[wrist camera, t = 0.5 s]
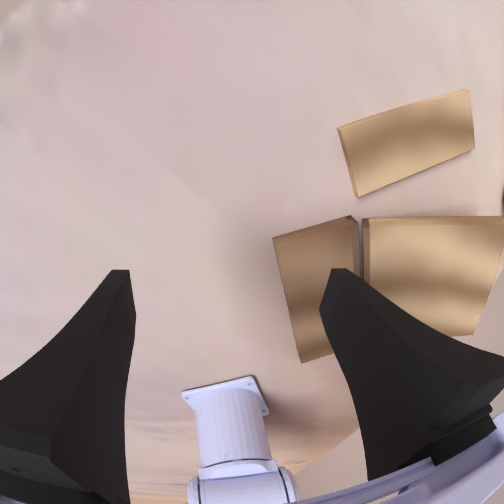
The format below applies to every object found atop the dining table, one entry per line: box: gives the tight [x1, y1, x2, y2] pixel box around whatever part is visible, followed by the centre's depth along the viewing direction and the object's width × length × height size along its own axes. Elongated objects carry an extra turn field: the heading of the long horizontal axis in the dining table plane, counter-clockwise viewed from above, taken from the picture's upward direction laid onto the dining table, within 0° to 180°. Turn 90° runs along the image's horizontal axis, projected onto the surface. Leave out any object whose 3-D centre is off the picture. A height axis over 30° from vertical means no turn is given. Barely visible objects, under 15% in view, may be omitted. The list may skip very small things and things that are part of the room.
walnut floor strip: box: [272, 215, 360, 364], centre depth 25 cm, size 14×6×1 cm, turn 13°
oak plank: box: [362, 216, 504, 337], centre depth 23 cm, size 13×12×1 cm
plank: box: [337, 89, 475, 197], centre depth 19 cm, size 5×12×1 cm, turn 111°
